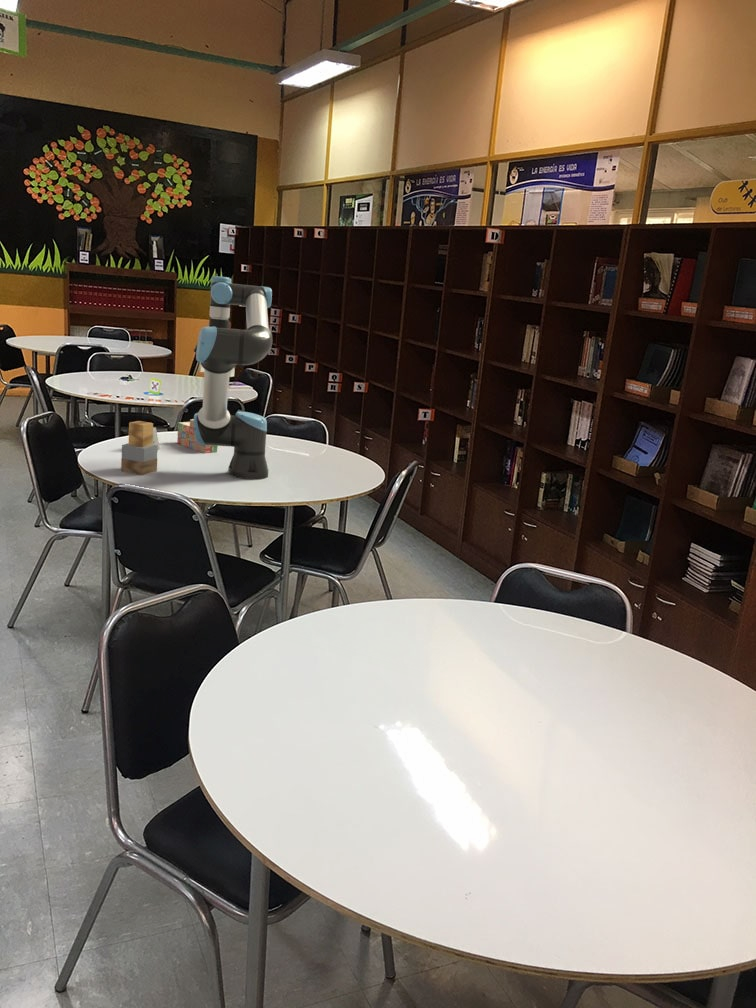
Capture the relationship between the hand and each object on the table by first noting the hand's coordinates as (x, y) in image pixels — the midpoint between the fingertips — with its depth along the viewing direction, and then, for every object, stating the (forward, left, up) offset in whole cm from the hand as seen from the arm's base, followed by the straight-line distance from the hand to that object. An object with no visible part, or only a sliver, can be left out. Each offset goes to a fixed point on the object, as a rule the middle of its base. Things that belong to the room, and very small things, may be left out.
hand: (216, 374), depth 320 cm
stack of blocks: (+20, -17, -35) cm, 44 cm away
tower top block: (+9, +34, -30) cm, 46 cm away
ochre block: (+9, +33, -25) cm, 42 cm away
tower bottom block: (+9, +34, -35) cm, 49 cm away
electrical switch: (+30, +3, -35) cm, 46 cm away
